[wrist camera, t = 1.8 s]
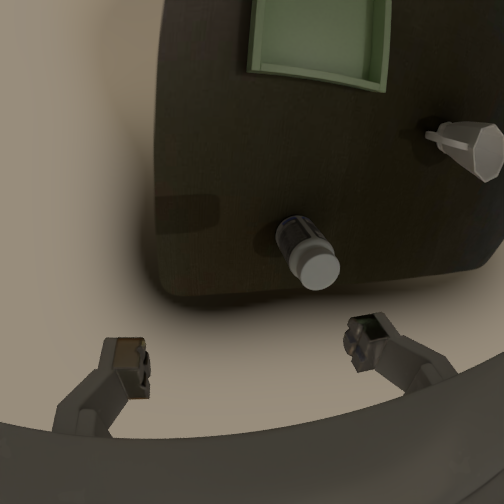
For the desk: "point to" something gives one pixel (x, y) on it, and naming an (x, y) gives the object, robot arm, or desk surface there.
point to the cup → (472, 146)
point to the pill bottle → (307, 252)
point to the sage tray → (322, 41)
